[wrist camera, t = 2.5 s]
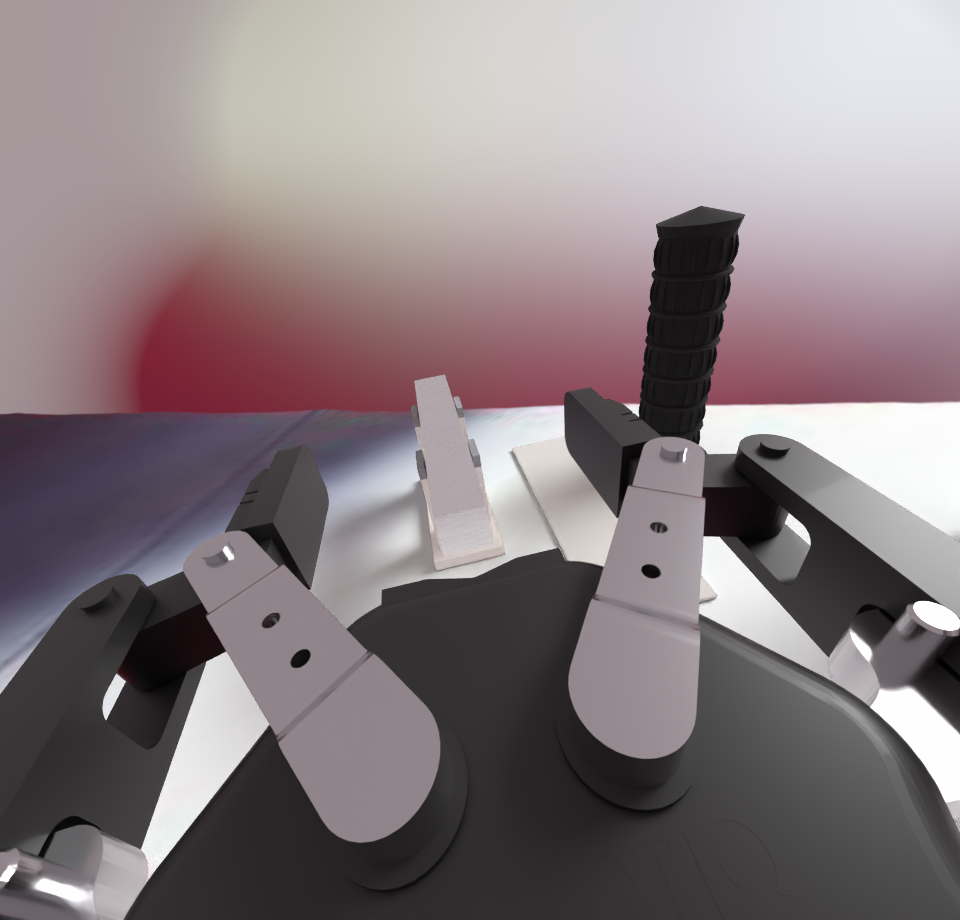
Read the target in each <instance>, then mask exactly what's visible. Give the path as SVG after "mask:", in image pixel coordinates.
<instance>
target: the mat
mask: <svg viewBox="0 0 960 920" xmlns="http://www.w3.org/2000/svg"><path fill="white" fill-rule="evenodd" d="M512 450H513V453H514V455H515V457H516V459H517V461H518V463H519V465H520V467H521V469H522V471H523V473H524V475H525V477H526V479H527V481H528V483H529V485H530V487H531V489H532V491H533V493H534V495H535V497H536V499H537V501H538V503H539V505H540V507H541V509H542V511H543V513H544V515H545V517H546V519H547V521H548V523H549V525H550V527H551V529H552V531H553V533H554V535H555V537H556V539H557V541H558V543H559V545H560V547H561V549H562V551H563V553H564V555H565V557H566V559H567V561H582V562H588V563H593V564H597V565H600V566H603V567H604V565H605V562H606V558H607V555H608V551H609V548H610V545H611V541H612V538H613V535H614V531H615V528H616V525H617V521H618V518H616V517H615V515H614V514H613V512H612V511H611V510H610V508H609V507H608V506H607V504H606V503H605V502H604V500H603V499H602V497H601V496H600V495H599V493H598V492H597V491H596V489H595V488H594V486H593V485H592V484H591V482H590V481H589V480H588V478H587V477H586V476H585V474H584V473H583V471H582V470H581V469H580V467H579V466H578V465H577V463H576V462H575V460H574V459H573V458H572V456H571V455H570V453H569V451H568V449H567V446H566V442H565V437H561V438H556V439H552V440H547V441H543V442H538V443H534V444H529V445H525V446H520V447H516V448H512ZM714 598H717V594H716V592H715V591H714V590H713V589H712V588H711V587H710V585H709V584H708V583H707V582H706V581H705V579H704V578H703V577H702V576H701V584H700V600H699V602H703V601H706V600H710V599H714Z"/></svg>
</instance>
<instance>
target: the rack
mask: <svg viewBox="0 0 960 920" xmlns="http://www.w3.org/2000/svg"><path fill="white" fill-rule="evenodd" d="M454 403H455V408H456V412H457V415H458V418H459V421H460V424H461V427H462V430H463V433H464V437H465V440H466V443H467V446H468V449H469V452H470V455H471V458H472V462H473V465H474V468H475V471H476V474H477V477H478V480H479V484H480V487H481V490H482V493H483V496H484V499H485V502H486V505H487V511H488V517H489V523H490V529H491V534H492V540H493V544H492V545H488V546H484V547H480V548H476V549H472V550H467V551H463V552H459V553H455V554H451V555H447V556H443V553H442V549H441V546H440V542H439V538H438V535H437V531H436V528H435V524H434V520H433V515H432V507H431V500H430V493H429V485H428V478H427V470H426V463H425V455H424V448H423V440H422V433H421V426H420V418H419V414H418V410H417V406H416V405H415V406H411V410H412V419H413V423H414V426H415V430H416V434H417V438H418V442H419V445H420V449H421V450H419V451H416V460H417V470H418V473H419V477H420V480H421V484H422V487H423V491H424V495H425V498H426V502H427V510H428V518H429V526H430V535H431V543H432V551H433V560H434V565H435V568H436V571H438V570H442V569H446V568H450V567H454V566H458V565H462V564H467V563H471V562H475V561H479V560H483V559H487V558H491V557H495V556H499V555H503V554H505V550H504V545H503V542H502V539H501V536H500V533H499V530H498V527H497V524H496V521H495V518H494V515H493V512H492V509H491V506H490V503H489V500H488V497H487V494H486V491H485V485H484V479H483V473H482V467H481V462H480V456H479V453H478V450H477V447H476V444H475V441H474V439H470V440H468V435H467V430H466V424H465V419H464V413H463V408H462V405H461V402H460V399H459V397H454Z"/></svg>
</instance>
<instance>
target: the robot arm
mask: <svg viewBox="0 0 960 920" xmlns="http://www.w3.org/2000/svg"><path fill="white" fill-rule="evenodd" d="M564 418H565V442H566V446H567V449H568V451H569V453H570V455H571V456H572V458H573V459H574V460H575V462H576V463H577V465H578V466H579V467H580V469H581V470H582V471H583V473H584V474H585V476H586V477H587V478H588V480H589V481H590V482H591V484H592V485H593V486H594V488H595V489H596V491H597V492H598V493H599V495H600V496H601V497H602V499H603V500H604V502H605V503H606V504H607V506H608V507H609V508H610V510H611V511H612V512H613V514H614V515H615V517H616V518H618V521H617V525H616V528H615V531H614V535H613V538H612V541H611V545H610V548H609V551H608V555H607V558H606V562H605V565H604V567H603V566H600V565H597V564H593V563H588V562H582V561H565V560H564V558H563V556H562V554H561V551H560V549H559V548H556V549H552V550H548V551H543V552H539V553H535V554H531V555H527V556H522V557H518V558H515V559H513V560H511V561H509V562H507V563H505V564H503V565H501V566H498V567H496V568H494V569H492V570H490V571H488V572H486V573H484V574H482V575H479V576H477V577H474V578H458V579H426V580H422V581H418V582H413V583H409V584H405V585H401V586H397V587H392V588H388V589H384V590H382V604H381V605H380V606H378V607H376V608H375V609H373V610H371V611H369V612H368V613H366V614H365V615H363V616H362V617H360V618H359V619H358V620H356V621H355V622H354V623H353V624H352V625H351V626H349V627H348V628H347V629H345V627H344V626H343V625H342V624H341V623H340V622H339V621H338V620H337V619H336V618H335V617H334V616H333V615H332V614H331V613H330V612H329V611H328V610H327V609H326V608H325V607H324V606H323V605H322V604H321V603H320V602H319V600H318V599H317V598H316V597H315V596H314V595H313V594H312V593H311V592H310V591H309V590H310V589H311V585H312V581H313V576H314V571H315V567H316V562H317V557H318V553H319V548H320V543H321V539H322V534H323V529H324V525H325V520H326V515H327V511H328V506H329V500H328V493H327V489H326V487H325V484H324V482H323V480H322V477H321V475H320V473H319V470H318V468H317V466H316V463H315V461H314V459H313V457H312V454H311V452H310V450H309V449H308V447H307V446H306V445H302V446H297V447H292V448H287V449H282V450H278V451H277V453H276V455H275V457H274V459H273V461H272V463H271V466H270V468H269V469H265V470H263V471H262V472H261V473H260V474H259V475H258V476H256V477H255V478H254V479H253V480H252V481H251V483H250V484H249V486H248V488H247V490H246V492H245V495H244V496H243V498H242V500H241V502H240V505H239V506H238V508H237V510H236V511H235V513H234V515H233V517H232V519H231V521H230V523H229V525H228V527H227V529H226V531H225V533H223V534H220V535H217V536H215V537H213V538H211V539H209V540H207V541H206V542H204V543H202V544H201V545H200V546H198V547H197V548H196V549H195V550H194V551H193V552H192V553H191V554H190V555H189V556H188V557H187V559H186V560H185V562H184V565H183V572H181V573H178V574H176V575H174V576H171V577H169V578H166V579H164V580H162V581H159V582H157V583H155V584H152V585H150V586H148V587H147V586H146V585H145V584H144V582H143V581H142V580H141V579H140V578H139V577H138V576H136V575H133V574H124V575H119V576H115V577H112V578H109V579H107V580H104V581H102V582H100V583H98V584H96V585H95V586H93V587H91V588H90V589H88V590H86V591H85V592H83V593H82V594H81V595H79V596H78V597H77V598H76V599H74V600H73V601H72V602H71V603H70V604H69V605H68V606H67V607H66V608H65V610H64V611H63V612H62V613H61V615H60V616H59V617H58V619H57V620H56V621H55V623H54V624H53V625H52V627H51V628H50V629H49V631H48V632H47V633H46V635H45V636H44V637H43V639H42V640H41V641H40V643H39V644H38V645H37V647H36V648H35V649H34V650H33V652H32V653H31V654H30V656H29V657H28V658H27V660H26V661H25V662H24V664H23V665H22V666H21V668H20V669H19V670H18V672H17V673H16V674H15V676H14V677H13V678H12V680H11V681H10V682H9V684H8V685H7V686H6V688H5V689H4V690H3V691H2V693H1V694H0V920H960V832H959V830H958V828H957V826H956V824H955V821H954V819H957V818H960V543H959V542H958V541H956V540H955V539H953V538H951V537H950V536H948V535H947V534H945V533H943V532H942V531H940V530H939V529H937V528H935V527H934V526H932V525H931V524H929V523H927V522H926V521H924V520H923V519H921V518H919V517H918V516H916V515H915V514H913V513H911V512H910V511H908V510H907V509H905V508H903V507H902V506H900V505H899V504H897V503H895V502H894V501H892V500H891V499H889V498H887V497H886V496H884V495H883V494H881V493H879V492H878V491H876V490H875V489H873V488H871V487H870V486H868V485H867V484H865V483H863V482H862V481H860V480H859V479H857V478H855V477H854V476H852V475H851V474H849V473H847V472H846V471H844V470H843V469H841V468H839V467H838V466H836V465H835V464H833V463H831V462H830V461H828V460H827V459H825V458H823V457H822V456H820V455H819V454H817V453H815V452H814V451H812V450H811V449H809V448H807V447H806V446H804V445H803V444H801V443H799V442H797V441H795V440H792V439H789V438H786V437H782V436H777V435H770V434H758V435H751V436H748V437H745V438H744V439H742V440H741V441H740V444H739V447H738V451H737V454H705V452H704V450H703V449H702V448H701V447H700V446H699V445H698V444H696V443H694V442H692V441H689V440H686V439H683V438H677V437H662V436H660V435H659V434H658V433H657V432H656V431H655V430H653V429H652V428H651V427H650V426H649V425H647V424H646V423H645V422H644V421H643V420H640V418H639V417H638V416H637V415H635V414H633V413H632V411H631V410H629V409H628V408H627V407H626V406H625V405H623V404H621V403H619V402H616V401H613V400H610V399H606V400H604V399H603V398H602V397H601V396H600V395H599V394H597V392H595V391H594V390H593V389H592V388H590V387H589V388H583V389H579V390H574V391H569V392H566V394H565V397H564ZM788 513H790V514H791V515H792V516H793V517H795V518H796V519H797V520H798V521H799V522H801V523H802V524H803V525H804V526H805V528H806V529H807V531H808V533H809V535H810V539H811V546H810V545H809V544H807V543H806V542H805V541H804V540H803V539H802V538H801V537H799V536H798V535H797V534H796V533H795V532H794V531H793V530H791V529H790V528H789V527H788V526H787V525H786V524H785V521H786V518H787V516H788ZM703 536H716V537H720V538H721V539H722V540H723V541H724V542H725V543H726V545H727V546H728V547H729V548H730V549H731V550H732V551H733V552H734V553H735V554H736V556H737V557H738V558H739V559H740V560H741V561H742V562H743V563H744V564H745V566H746V567H747V568H748V569H749V570H750V571H751V572H752V573H753V574H754V576H755V577H756V578H757V579H758V580H759V581H760V582H761V583H762V584H763V585H764V587H765V588H766V589H767V590H768V591H769V592H770V593H771V594H772V595H773V597H774V598H775V599H776V600H777V601H778V602H779V603H780V604H781V605H782V607H783V608H784V609H785V610H786V611H787V612H788V613H789V614H790V615H791V616H792V618H793V619H794V620H795V621H796V622H797V623H798V624H799V625H800V626H801V628H802V629H803V630H804V631H805V632H806V633H807V634H808V635H809V636H810V638H811V639H812V640H813V641H814V642H815V643H816V644H817V645H818V646H819V647H820V649H821V650H822V651H823V652H824V653H825V654H826V655H827V656H828V657H829V660H828V668H829V672H830V675H831V677H832V679H833V681H834V682H835V683H834V682H832V681H830V680H829V679H827V678H825V677H823V676H821V675H819V674H817V673H815V672H813V671H811V670H809V669H807V668H805V667H803V666H801V665H799V664H797V663H795V662H793V661H791V660H789V659H787V658H785V657H784V656H782V655H780V654H778V653H776V652H774V651H772V650H770V649H768V648H766V647H764V646H762V645H760V644H758V643H756V642H754V641H752V640H750V639H748V638H746V637H744V636H742V635H740V634H738V633H736V632H734V631H732V630H730V629H728V628H726V627H725V626H723V625H721V624H719V623H717V622H715V621H713V620H711V619H709V618H707V617H705V616H703V615H701V614H699V600H700V584H701V567H702V550H703ZM226 651H227V653H228V655H229V656H230V658H231V660H232V661H233V663H234V665H235V667H236V668H237V670H238V672H239V673H240V675H241V677H242V678H243V680H244V682H245V683H246V685H247V687H248V688H249V690H250V692H251V694H252V695H253V697H254V699H255V700H256V702H257V704H258V705H259V707H260V709H261V710H262V712H263V714H264V716H265V717H266V719H267V721H268V722H269V724H270V725H269V726H268V727H267V729H266V730H265V731H264V733H263V734H262V735H261V736H260V738H259V739H258V740H257V741H256V743H255V744H254V745H253V747H252V748H251V749H250V750H249V752H248V753H247V754H246V756H245V757H244V758H243V759H242V761H241V762H240V763H239V764H238V766H237V767H236V768H235V770H234V771H233V772H232V773H231V775H230V776H229V777H228V779H227V780H226V781H225V782H224V784H223V785H222V786H221V787H220V789H219V790H218V791H217V793H216V794H215V795H214V796H213V798H212V799H211V800H210V802H209V803H208V804H207V805H206V807H205V808H204V809H203V810H202V812H201V813H200V814H199V816H198V817H197V818H196V819H195V821H194V822H193V823H192V824H191V826H190V827H189V828H188V830H187V831H186V832H185V833H184V835H183V836H182V837H181V839H180V840H179V841H178V842H177V844H176V845H175V846H174V847H173V849H172V850H171V851H170V853H169V854H168V855H167V856H166V858H165V859H164V860H163V862H162V863H161V864H160V865H159V867H158V868H157V869H156V871H155V872H154V873H153V875H152V876H151V877H150V879H149V880H148V882H147V877H148V863H147V859H146V856H145V854H144V853H143V852H142V850H141V847H142V845H143V842H144V839H145V836H146V833H147V830H148V827H149V825H150V822H151V819H152V816H153V813H154V810H155V807H156V805H157V802H158V799H159V796H160V793H161V790H162V787H163V785H164V782H165V779H166V776H167V773H168V770H169V767H170V765H171V762H172V759H173V756H174V753H175V750H176V747H177V745H178V742H179V739H180V736H181V733H182V730H183V727H184V725H185V722H186V719H187V716H188V713H189V710H190V707H191V705H192V702H193V699H194V696H195V693H196V690H197V687H198V685H199V682H200V679H201V676H202V673H203V670H204V667H205V665H206V661H208V660H210V659H212V658H214V657H216V656H218V655H220V654H222V653H224V652H226ZM116 673H117V674H118V675H119V676H120V677H121V678H123V679H124V680H125V681H126V683H125V685H124V687H123V688H122V690H121V692H120V694H119V696H118V698H117V700H116V702H115V704H114V706H113V708H112V710H111V712H110V714H109V716H108V718H107V720H105V718H104V716H103V710H102V705H103V699H104V696H105V694H106V692H107V690H108V688H109V686H110V684H111V682H112V680H113V679H114V677H115V675H116Z"/></svg>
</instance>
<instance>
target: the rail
mask: <svg viewBox="0 0 960 920" xmlns="http://www.w3.org/2000/svg"><path fill="white" fill-rule="evenodd" d="M415 388H416V395H417V403H418V411H419V418H420V426H421V433H422V440H423V448H424V455H425V463H426V470H427V478H428V485H429V493H430V500H431V507H432V515H433V520H434V524H435V528H436V531H437V535H438V538H439V542H440V546H441V549H442V553H443V556H447V555H451V554H455V553H459V552H463V551H467V550H472V549H476V548H480V547H484V546H488V545H492V544H493V540H492V534H491V529H490V523H489V517H488V511H487V505H486V502H485V499H484V496H483V493H482V490H481V487H480V484H479V480H478V477H477V474H476V471H475V468H474V465H473V462H472V458H471V455H470V452H469V449H468V446H467V443H466V440H465V437H464V433H463V430H462V427H461V424H460V421H459V418H458V415H457V412H456V408H455V405H454V402H453V399H452V396H451V393H450V390H449V386H448V383H447V380H446V377H445V375H441V376H436V377H431V378H426V379H421V380H416V381H415Z"/></svg>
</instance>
